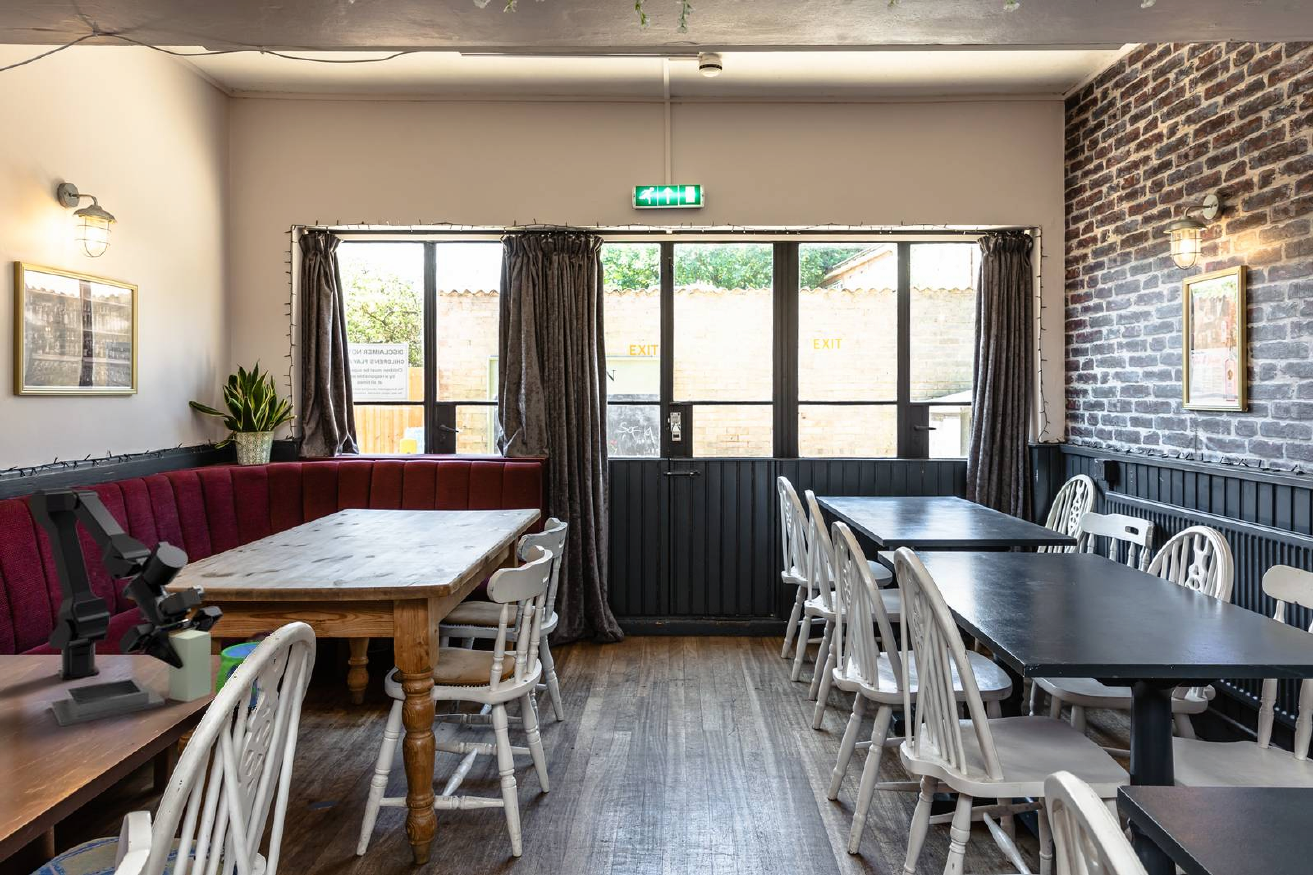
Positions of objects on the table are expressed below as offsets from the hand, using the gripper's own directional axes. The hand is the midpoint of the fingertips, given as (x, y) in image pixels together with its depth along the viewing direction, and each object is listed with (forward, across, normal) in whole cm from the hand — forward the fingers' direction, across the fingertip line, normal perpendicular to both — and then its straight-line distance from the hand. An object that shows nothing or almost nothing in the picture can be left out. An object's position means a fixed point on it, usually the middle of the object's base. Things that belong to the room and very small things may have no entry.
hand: (195, 663), depth 163 cm
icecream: (0, +23, +10) cm, 25 cm away
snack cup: (+13, +2, -4) cm, 14 cm away
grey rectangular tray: (-2, -10, +12) cm, 16 cm away
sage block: (+4, 0, +6) cm, 7 cm away
